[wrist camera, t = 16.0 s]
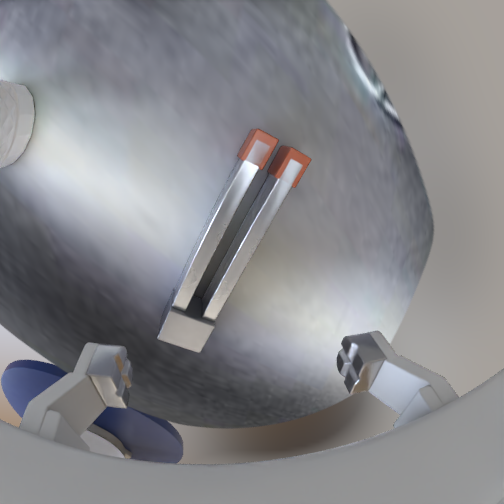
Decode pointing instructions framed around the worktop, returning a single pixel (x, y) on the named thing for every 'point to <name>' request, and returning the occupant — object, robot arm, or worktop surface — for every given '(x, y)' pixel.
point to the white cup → (14, 121)
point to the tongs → (242, 247)
